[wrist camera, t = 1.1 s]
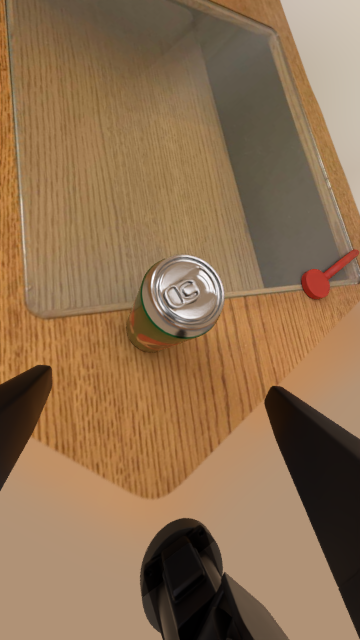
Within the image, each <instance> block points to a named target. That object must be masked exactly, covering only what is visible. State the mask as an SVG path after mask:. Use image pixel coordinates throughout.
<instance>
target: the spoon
mask: <svg viewBox="0 0 360 640" xmlns="http://www.w3.org/2000/svg"><path fill="white" fill-rule="evenodd" d="M358 254H359V251H358V250H352V251H350V252H349V253H348V254H347V255H345V256H344V257H343V258H342V259H340V260H339V261H338V262H337V263H335V264H334V265H333V266H332V267H330V268H329V269H328V270H326V271H325V272H324V273H323V272H321V271H320V270H317V269H311V270H309V271H307V272H305V273H304V274H303V276H302V280H301V282H302V287H303V289H304V291H305V293H306V294H307V295H308V296H309V297H311V298H313V299H320V298H323V297H326V296H327V295H328V293H329V290H330V285H329V281H328V279H330V278H331V277H332V276H333V275H334V274H336V273H337V272H338V271H339V270H341V269H342V268H343V267H344V266H345V265H347V264H348V263H349V262H350V261H351V260H353V259H354V258H355V257H356V256H357V255H358Z"/></svg>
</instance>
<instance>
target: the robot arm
mask: <svg viewBox="0 0 360 640" xmlns="http://www.w3.org/2000/svg"><path fill="white" fill-rule="evenodd" d="M51 388H52V369H51V367H50V366H47V365H37V366H35V367H33V368H31V369H29V370H27V371H25V372H24V373H22V374H20V375H18V376H16V377H14V378H12V379H10V380H8V381H6V382H5V383H3V384H1V385H0V490H1V489H2V487H3V485H4V483H5V481H6V480H7V478H8V476H9V474H10V472H11V470H12V469H13V467H14V465H15V463H16V462H17V460H18V458H19V456H20V454H21V453H22V451H23V449H24V447H25V445H26V444H27V442H28V440H29V438H30V436H31V435H32V433H33V431H34V429H35V426H36V424H37V422H38V419H39V417H40V415H41V412H42V410H43V408H44V405H45V403H46V400H47V398H48V396H49V393H50V391H51ZM265 408H266V411H267V414H268V417H269V420H270V423H271V426H272V429H273V433H274V436H275V438H276V441H277V443H278V446H279V449H280V451H281V453H282V456H283V458H284V460H285V463H286V465H287V467H288V470H289V472H290V475H291V477H292V479H293V482H294V484H295V486H296V489H297V491H298V494H299V496H300V498H301V501H302V503H303V505H304V507H305V510H306V512H307V515H308V517H309V520H310V522H311V524H312V527H313V529H314V531H315V534H316V536H317V539H318V541H319V543H320V546H321V548H322V550H323V553H324V555H325V558H326V560H327V562H328V565H329V567H330V569H331V572H332V574H333V576H334V579H335V581H336V583H337V586H338V587H339V591H340V593H341V596H342V598H343V601H344V603H345V605H346V608H347V610H348V612H349V615H350V617H351V620H352V622H353V624H354V627H355V629H356V631H357V634H358V636H359V638H360V439H359V438H357V437H356V436H354V435H353V434H351V433H349V432H348V431H347V430H345V429H344V428H342V427H341V426H339V425H338V424H336V423H335V422H333V421H332V420H330V419H329V418H327V417H326V416H324V415H323V414H321V413H320V412H318V411H317V410H315V409H314V408H312V407H311V406H309V405H308V404H306V403H305V402H303V401H302V400H300V399H299V398H298V397H296V396H295V395H293V394H292V393H290V392H289V391H287V390H285V389H284V388H283V387H280V386H272V387H271V388H270V390H269V392H268V394H267V396H266V398H265ZM200 530H202V532H201V533H199V531H200ZM148 569H151V570H150V571H149V572H147V570H148ZM143 576H144V579H145V583H146V586H147V589H148V592H149V596H150V599H151V602H152V606H153V609H154V612H155V615H156V619H157V622H158V625H159V628H160V632H161V635H162V638H163V640H289V639H288V637H287V636H286V634H285V633H284V632H283V630H282V629H281V628H280V627H279V625H278V624H277V622H276V621H275V620H274V618H273V617H272V616H271V614H270V613H269V612H268V610H267V609H266V608H265V607H264V606H263V605H262V604H261V603H260V602H259V601H258V600H256V599H255V598H254V597H253V596H252V595H251V594H250V593H248V592H247V591H246V590H245V589H244V588H243V587H242V586H240V585H239V584H238V583H237V582H236V581H234V580H233V579H232V578H231V577H230V576H229V575H228V574H226V573H225V572H224V574H223V576H222V577H221V574H220V571H219V569H218V566H217V563H216V560H215V557H214V554H213V551H212V548H211V545H210V542H209V539H208V536H207V533H206V530H205V528H204V527H203V525H198V526H196V527H195V528H193V529H192V530H191V531H189V532H188V533H187V534H185V535H183V536H182V537H181V538H179V539H178V540H177V541H175V542H174V543H172V544H171V545H170V546H168V547H167V548H166V549H164V550H163V551H162V552H161V553H159V554H158V555H157V556H155V557H154V558H152V559H151V560H150V561H148V562H147V563H146V564H145V565H144V567H143Z"/></svg>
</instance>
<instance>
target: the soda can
mask: <svg viewBox="0 0 360 640" xmlns="http://www.w3.org/2000/svg"><path fill="white" fill-rule="evenodd" d="M224 301H225V291H224V286H223V283H222V280H221V278H220V276H219V275H218V273H217V272H216V270H215V269H214V268H213V267H212V266H211V265H210V264H209V263H208V262H206V261H205V260H203V259H201V258H199V257H197V256H194V255H189V254H178V255H174V256H170V257H168V258H166V259H163V260H161V261H159V262H157V263H156V264H154V265H153V266H152V267H151V268H150V269H149V270H148V271H147V273H146V274H145V276H144V279H143V281H142V283H141V286H140V289H139V291H138V294H137V297H136V299H135V302H134V305H133V307H132V310H131V312H130V315H129V318H128V320H127V326H126V329H127V335H128V337H129V339H130V341H131V343H132V344H133V345H134V346H135V347H137V348H138V349H140V350H142V351H145V352H158V351H161V350H164V349H166V348H169V347H172V346H174V345H177V344H180V343H183V342H185V341H188V340H191V339H194V338H196V337H199V336H201V335H203V334H205V333H206V332H208V331H209V330H210V329H211V328H212V327H213V326H214V325H215V323H216V322H217V320H218V318H219V316H220V313H221V311H222V309H223V306H224Z"/></svg>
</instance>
